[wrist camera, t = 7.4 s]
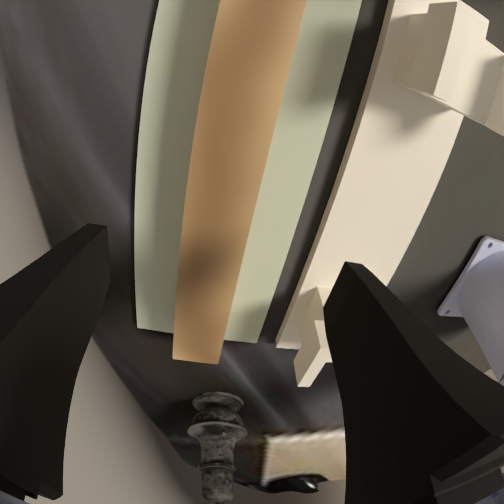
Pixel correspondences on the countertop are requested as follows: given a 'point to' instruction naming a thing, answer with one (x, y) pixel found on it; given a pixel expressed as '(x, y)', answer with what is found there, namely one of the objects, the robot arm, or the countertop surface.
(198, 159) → the oak bar
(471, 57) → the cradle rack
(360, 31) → the countertop surface
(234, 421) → the grey chess piece
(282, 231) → the sage mat
